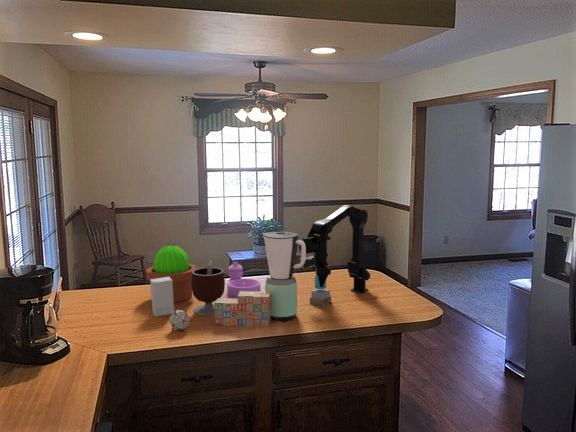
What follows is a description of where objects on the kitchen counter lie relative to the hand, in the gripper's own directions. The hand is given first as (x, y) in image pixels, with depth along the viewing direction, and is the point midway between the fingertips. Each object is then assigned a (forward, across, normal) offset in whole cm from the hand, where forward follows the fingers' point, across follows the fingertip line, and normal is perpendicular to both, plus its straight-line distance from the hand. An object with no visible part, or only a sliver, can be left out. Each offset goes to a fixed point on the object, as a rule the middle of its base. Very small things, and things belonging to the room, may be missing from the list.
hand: (320, 285), depth 217 cm
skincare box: (+8, +8, -67) cm, 68 cm away
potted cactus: (+8, -14, -67) cm, 69 cm away
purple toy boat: (+8, -17, -35) cm, 40 cm away
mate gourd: (+8, +5, -49) cm, 50 cm away
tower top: (+5, 0, 0) cm, 5 cm away
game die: (+8, +27, -58) cm, 65 cm away
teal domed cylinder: (+1, 0, 0) cm, 1 cm away
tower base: (+8, 0, 0) cm, 8 cm away
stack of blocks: (+8, +22, -34) cm, 42 cm away
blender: (+8, +16, -18) cm, 26 cm away
